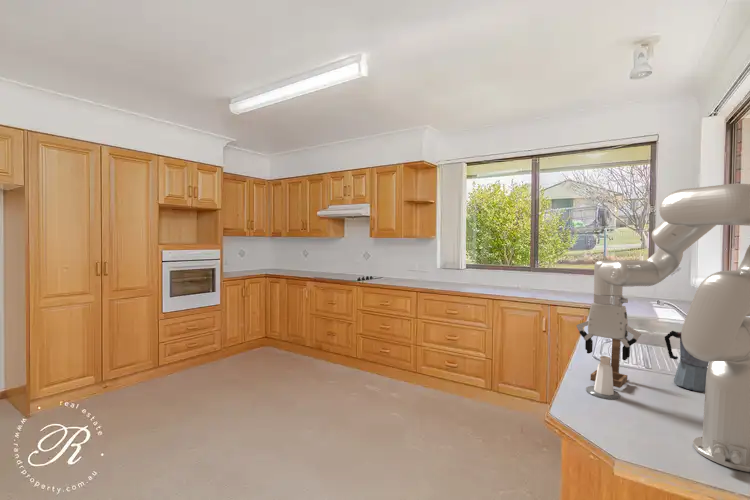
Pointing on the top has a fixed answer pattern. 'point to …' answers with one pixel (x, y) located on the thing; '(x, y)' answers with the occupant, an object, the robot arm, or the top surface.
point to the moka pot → (688, 367)
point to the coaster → (591, 391)
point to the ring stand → (614, 366)
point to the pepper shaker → (604, 377)
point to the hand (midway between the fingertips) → (606, 355)
